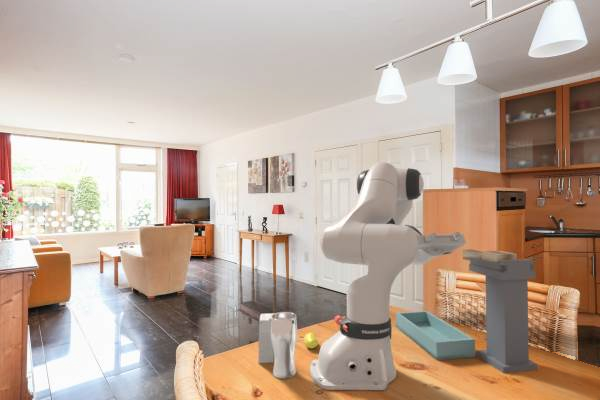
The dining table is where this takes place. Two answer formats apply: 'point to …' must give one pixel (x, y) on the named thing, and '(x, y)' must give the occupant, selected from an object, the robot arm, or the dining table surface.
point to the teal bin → (435, 335)
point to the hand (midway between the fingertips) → (447, 234)
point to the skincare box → (265, 339)
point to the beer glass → (284, 343)
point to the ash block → (489, 255)
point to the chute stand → (506, 313)
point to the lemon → (310, 340)
